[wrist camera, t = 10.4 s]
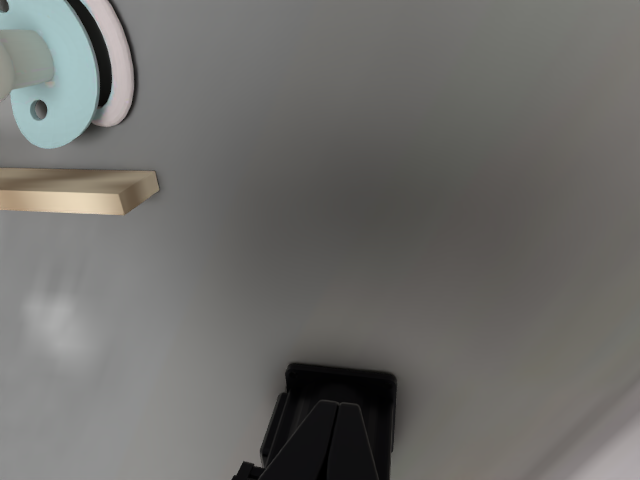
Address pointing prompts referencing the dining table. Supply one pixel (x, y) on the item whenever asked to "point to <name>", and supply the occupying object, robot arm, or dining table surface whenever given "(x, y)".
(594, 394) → the dining table surface
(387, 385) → the robot arm
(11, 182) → the box
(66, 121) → the pacifier
